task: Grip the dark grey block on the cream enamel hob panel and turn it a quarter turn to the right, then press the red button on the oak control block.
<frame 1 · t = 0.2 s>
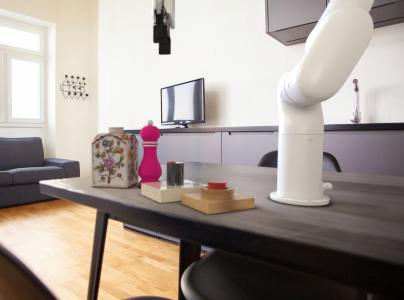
hand: (162, 49, 73), 37 cm above the table, tool pointing down, fingers open, 9 cm apart
button: (217, 185, 64), point 4 cm above the table, slide at 0.1 cm
button block: (216, 205, 64), on the table
pepper mill: (150, 187, 88), on the table
decorative jar: (115, 185, 92), on the table
dark grey block: (175, 172, 74), point 6 cm above the table, hinge at 0.0°
hob panel: (175, 196, 75), on the table
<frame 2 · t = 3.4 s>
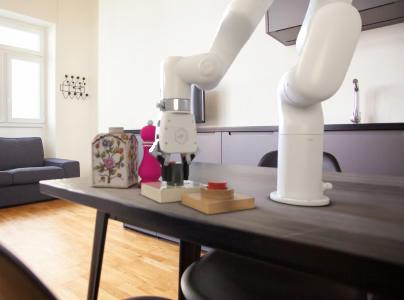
hand: (175, 179, 74), 4 cm above the table, tool pointing down, fingers closed on dark grey block, 4 cm apart
dark grey block: (175, 172, 74), point 6 cm above the table, hinge at 0.1°, touching gripper
everything else where it was.
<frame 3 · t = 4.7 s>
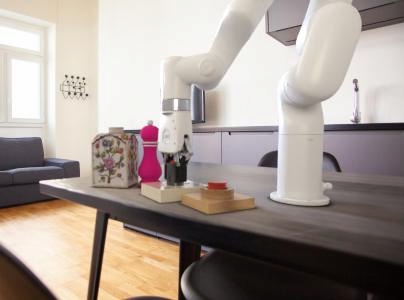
hand: (175, 179, 74), 4 cm above the table, tool pointing down, fingers closed on dark grey block, 4 cm apart
dark grey block: (175, 172, 74), point 6 cm above the table, hinge at -90.1°, touching gripper
everything else where it was.
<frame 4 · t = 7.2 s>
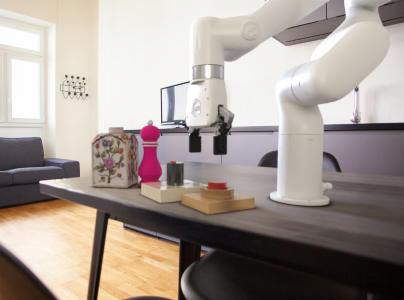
hand: (206, 153, 66), 11 cm above the table, tool pointing down, fingers open, 9 cm apart
dark grey block: (175, 172, 74), point 6 cm above the table, hinge at -90.8°
everything else where it was.
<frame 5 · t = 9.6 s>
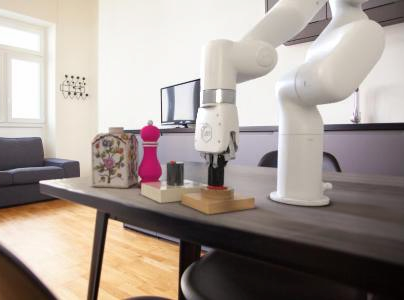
hand: (215, 185, 64), 5 cm above the table, tool pointing down, fingers closed
button: (217, 189, 64), point 4 cm above the table, slide at -0.8 cm, touching gripper
everything else where it was.
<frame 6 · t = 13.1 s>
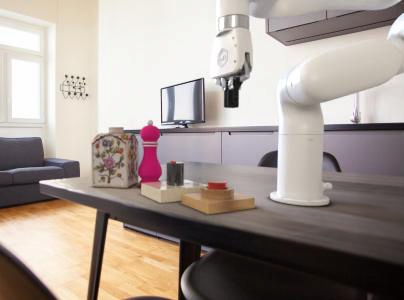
hand: (231, 107, 70), 22 cm above the table, tool pointing down, fingers closed
button: (217, 185, 64), point 4 cm above the table, slide at 0.1 cm
everything else where it was.
at the end: dark grey block at -91° (first picture: +0°); button pushed in 1.0 cm at the most during the clip and back out by the end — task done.
